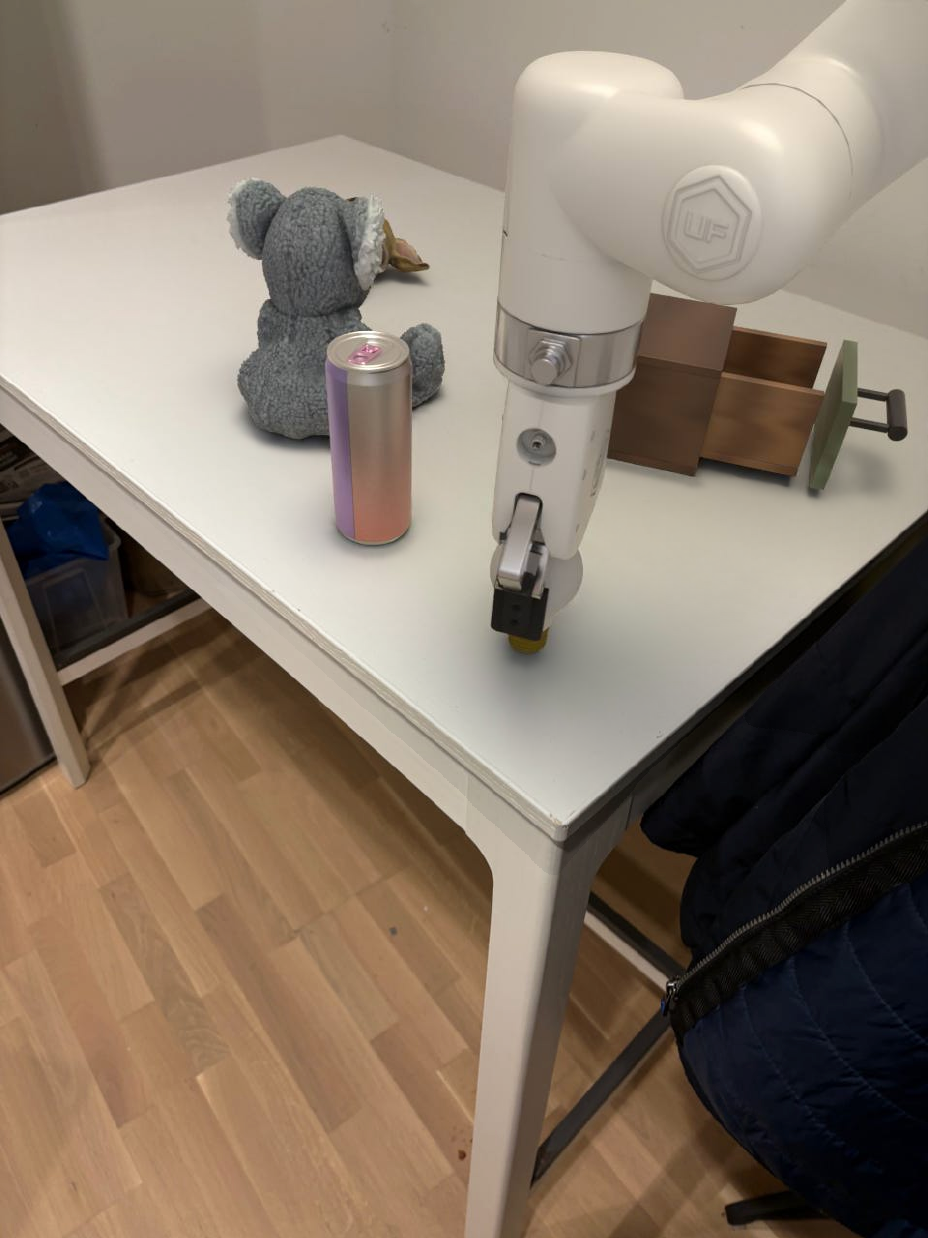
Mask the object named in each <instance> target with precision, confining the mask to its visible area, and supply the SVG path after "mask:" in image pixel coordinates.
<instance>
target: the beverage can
mask: <svg viewBox="0 0 928 1238" xmlns="http://www.w3.org/2000/svg"><path fill="white" fill-rule="evenodd" d="M325 374H326V389H327V404H328V419H329V433H330V436H329V446H330V447H329V448H330V463H331V476H332V477H331V478H332V490H333V491H332V492H333V505H334V506H333V507H334V508H333V509H334V522H335V524H336V525H335V526H336V527H337V528H338V529H339V531H340V532H341V534H343V535H344V536H345V537H346V538H347V539H348V540H350V541H352V542H354V543H356V544H360V545H366V546H381V545H386V544H389V543H392V542H394V541H396V540H398V539H399V538H401V537H402V536H403V535H404V534H405V533H406V532H407V530H408V528H409V527H410V525H411V523H412V466H413V462H412V461H413V460H412V459H413V456H412V455H413V451H412V449H413V407H412V362H411V359H410V357H409V347H408V345H407V344H406V343H405V342H404V341H403V340H402V339H400V336H397V335H395V334H391V333H388V332H382V331H376V330H373V331H357V332H351V333H347V334H344V335H341V336H339V337H337V338H335V339H334V340H332V341H331V342H330V344H329V345H328V347H327V359H326V362H325Z"/></svg>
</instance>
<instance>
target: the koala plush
mask: <svg viewBox="0 0 928 1238" xmlns="http://www.w3.org/2000/svg"><path fill="white" fill-rule="evenodd" d="M225 194H226V196H227V204H229V205H230V208H229V210H228V213H227V215H226V218H225V220H226V221H227V222H228V223H229V230H228V233H229V234H230V237H231V239H232V240H233V242H234V245H235V248H236V249H237V250H238V251H239V250H240V249H241V251H242V253H244V254H246V257H248V258H249V257H250V258H251V259H252V260H256V261H261V267H262V268H261V269H262V270H261V271H262V276H263V277H264V281H265V283H266V288H267V290H268V295H269V298H268V299H266V300H264V302H263V303H262V306H261V307H260V308H259V315H258V317H257V320H256V324H257V331H256V335H257V336H256V337H257V341H258V343H257V344H258V346H257V347H258V348H257V349H256V350H253V351H252V352H251V353H250V354H249V356H248V357H246V359H245V360H243V361H242V363H241V364H240V367H239V368H238V372H239V373H238V374H237V375H236V376H237V379H236V381H237V382H236V385H237V387H238V390H239V392H240V395H241V396H242V398H243V400H244V401H245V403H246V404H247V406H248V408H249V410H250V416H251V417H252V419H253V421H254V423H255V426H256V427H257V428H260V429H262V430H264V431H268V432H269V433H270V432H271V433H274V434H279V435H282V436H283V437H285V438H290V439H292V440H295V439H296V440H302V439H306V438H308V437H310V436H311V437H312V436H328V437H330V433H329V419H328V404H327V389H326V374H325V362H326V359H327V347H328V345H329V344H330V342H331V341H332V340H334V339H335V338H337V337H339V336H341V335H344V334H347V333H351V332H357V331H374V330H373V329H372V328H371V327H369V326H368V325H366V323H364V322H362V319H363V316H362V313H361V311H360V309H359V308H361V306H363V305H364V302H365V301H366V300H367V298H368V295H369V294H370V290H372V288H373V286H374V285H375V281H374V280H375V279H376V277H377V275H375V274H376V273H377V270H378V271H379V272H381V273H384V271H383V270H382V269H381V267H380V266H379V265H380V264H381V261H382V251H383V249H382V244H383V243H382V241H383V239H384V238H386V235H385V233H384V232H383V229H382V226H383V224H384V220H385V219H386V218H385V210H384V208H383V205H382V201H383V198H379V197H377V196H376V195H375V194H373V195H372V194H370V195H369V198H366V197H365V196H361V197H359V198H356V199H355V201H353V202H349V203H347V202H346V201H345V200H344V199H345V198H344V197H341V196H339V194H337V193H336V192H335V191H331V190H329V189H327V188H326V187H324V188H323V187H317V186H309V187H307V186H304V188H303V187H302V188H300V189H299V190H297V189H296V191H294V192H293V193H291V194H289V196H288V197H287V196H286V195H284V194H282V193H281V191H280V190H279V189H278V188H277V187H275V185H274V184H273V183H271V182H266V181H265V180H264V179H260V178H259V177H254V176H253V177H248V178H246V177H245V178H244V179H241V180H240V182H238V181H235V184H234V186H233V185H231V186H230V193H228V191H226V192H225ZM343 198H344V199H343ZM399 338H400V339H402V340H403V341H404V342H405V343H406V344H407V345H408V347H409V357H410V359H411V362H412V408H413V407H416V406H417V407H418V406H419V405H422V404H423V403H424V402H425V401H427V400H428V399H429V398H430V397H432V396H433V395H434V394H435V392H436V391H437V390H438V389H439V388H440V386H441V384H442V383H443V376H444V374H445V370H446V368H445V367H446V366H445V365H446V364H445V363H446V360H445V355H444V351H443V349H444V347H443V346H444V345H443V341H442V333H441V332H440V331H438V328H435V327H434V326H433V325H431V324H429V323H427V322H426V323H425V322H421V323H420V324H417V325H416V326H410V327H409V328H408V329H407V330H406V331H404V332H403V333H402V334H401V336H399Z"/></svg>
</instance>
